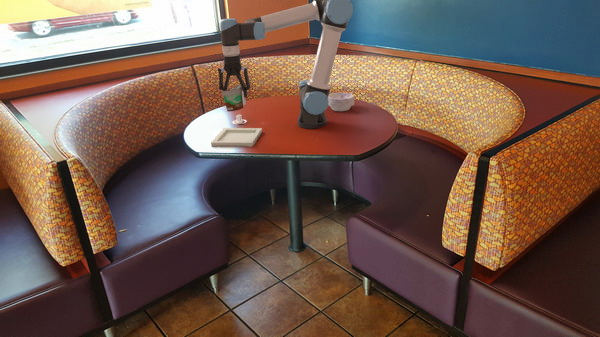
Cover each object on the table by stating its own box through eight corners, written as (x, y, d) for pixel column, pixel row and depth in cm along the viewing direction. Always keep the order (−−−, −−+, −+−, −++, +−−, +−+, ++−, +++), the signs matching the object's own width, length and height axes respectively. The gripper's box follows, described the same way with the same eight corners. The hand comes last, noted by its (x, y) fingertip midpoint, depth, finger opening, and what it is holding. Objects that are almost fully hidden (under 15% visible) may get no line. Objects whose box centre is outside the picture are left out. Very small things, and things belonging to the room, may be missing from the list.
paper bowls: (354, 105, 261) (354, 91, 258) (353, 113, 248) (353, 99, 244) (328, 105, 264) (328, 92, 260) (326, 113, 250) (325, 99, 247)
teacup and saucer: (242, 126, 239) (241, 118, 237) (228, 125, 242) (227, 117, 240) (249, 120, 246) (248, 113, 245) (236, 120, 249) (235, 112, 247)
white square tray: (262, 131, 227) (261, 128, 226) (252, 146, 209) (252, 142, 208) (224, 131, 230) (223, 128, 230) (211, 146, 212) (210, 142, 212)
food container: (236, 112, 206) (232, 91, 202) (225, 112, 209) (221, 91, 205) (251, 104, 216) (247, 84, 212) (240, 104, 219) (237, 84, 215)
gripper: (207, 56, 201) (213, 106, 210) (251, 56, 198) (255, 106, 207) (212, 53, 208) (218, 102, 217) (255, 52, 205) (258, 102, 214)
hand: (236, 104), depth 212 cm, fingers closed on food container, 7 cm apart
